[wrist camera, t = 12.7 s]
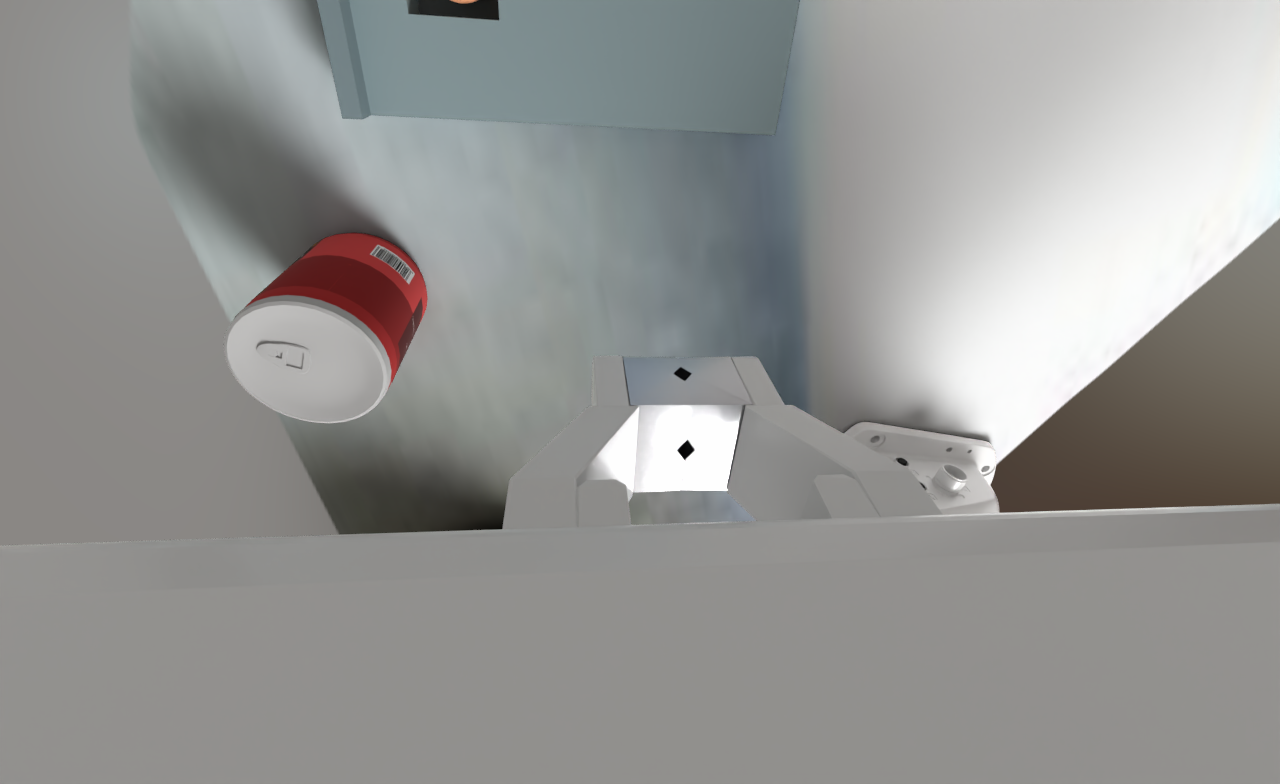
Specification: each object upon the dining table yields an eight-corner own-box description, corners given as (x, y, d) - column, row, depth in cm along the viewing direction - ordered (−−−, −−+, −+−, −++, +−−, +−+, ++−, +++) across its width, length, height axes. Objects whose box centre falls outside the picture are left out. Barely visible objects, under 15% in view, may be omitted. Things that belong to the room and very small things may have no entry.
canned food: (295, 222, 35) (201, 293, 26) (426, 235, 37) (379, 307, 28) (317, 328, 40) (242, 421, 31) (433, 336, 41) (395, 428, 32)
